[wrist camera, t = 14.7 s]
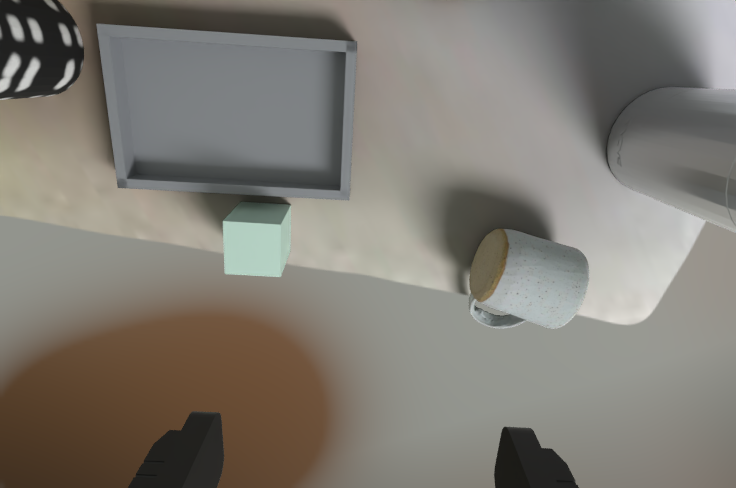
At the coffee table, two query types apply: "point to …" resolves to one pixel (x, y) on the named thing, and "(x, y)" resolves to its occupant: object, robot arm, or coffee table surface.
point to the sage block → (257, 239)
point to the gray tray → (229, 111)
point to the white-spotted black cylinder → (37, 49)
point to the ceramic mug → (526, 280)
